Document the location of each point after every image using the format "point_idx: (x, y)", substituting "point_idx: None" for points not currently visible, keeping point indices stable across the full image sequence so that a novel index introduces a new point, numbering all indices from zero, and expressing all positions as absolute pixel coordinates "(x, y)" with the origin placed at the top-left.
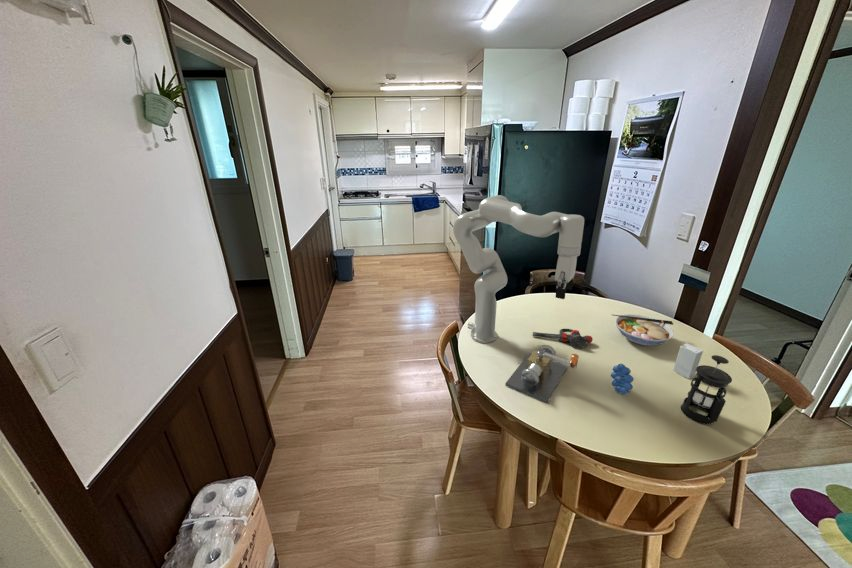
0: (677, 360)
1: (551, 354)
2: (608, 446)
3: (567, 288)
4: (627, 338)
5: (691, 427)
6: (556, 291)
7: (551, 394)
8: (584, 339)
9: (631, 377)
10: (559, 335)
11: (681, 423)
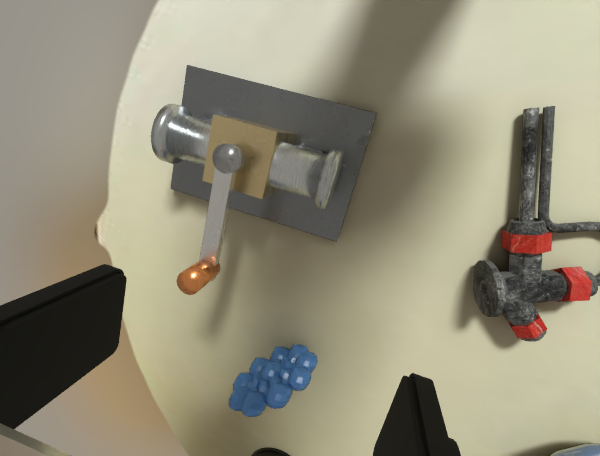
0: None
1: (226, 199)
2: None
3: (389, 422)
4: (557, 451)
5: (232, 444)
6: (35, 297)
7: (202, 197)
8: (491, 314)
9: (230, 407)
10: (523, 222)
11: (235, 433)
